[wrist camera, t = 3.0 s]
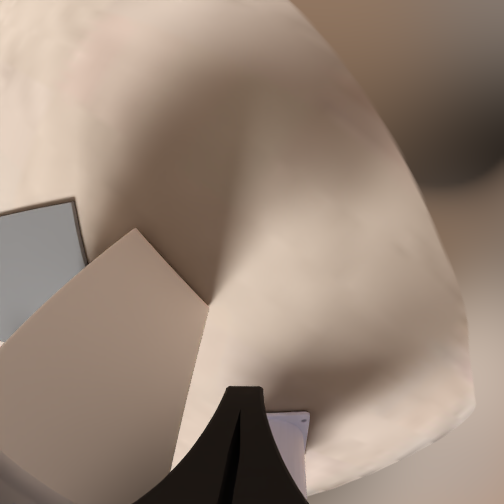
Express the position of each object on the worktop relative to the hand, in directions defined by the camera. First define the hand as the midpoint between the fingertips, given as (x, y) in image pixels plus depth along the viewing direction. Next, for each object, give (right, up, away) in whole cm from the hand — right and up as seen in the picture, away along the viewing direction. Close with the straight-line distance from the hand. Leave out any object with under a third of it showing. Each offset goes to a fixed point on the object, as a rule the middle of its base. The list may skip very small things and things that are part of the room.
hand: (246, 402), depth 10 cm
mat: (-21, +2, +10) cm, 24 cm away
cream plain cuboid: (-7, +3, +9) cm, 12 cm away
